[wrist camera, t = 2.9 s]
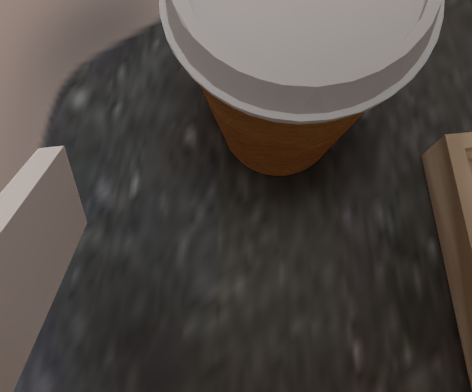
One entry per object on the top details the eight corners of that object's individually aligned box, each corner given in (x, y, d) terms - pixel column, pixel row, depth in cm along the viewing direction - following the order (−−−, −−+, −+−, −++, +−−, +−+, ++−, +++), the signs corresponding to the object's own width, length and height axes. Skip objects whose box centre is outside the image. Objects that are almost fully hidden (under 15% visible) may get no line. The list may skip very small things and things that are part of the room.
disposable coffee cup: (172, 81, 26) (113, -106, 14) (321, 30, 27) (379, -188, 15) (228, 230, 24) (211, 149, 12) (390, 169, 24) (522, 38, 13)
